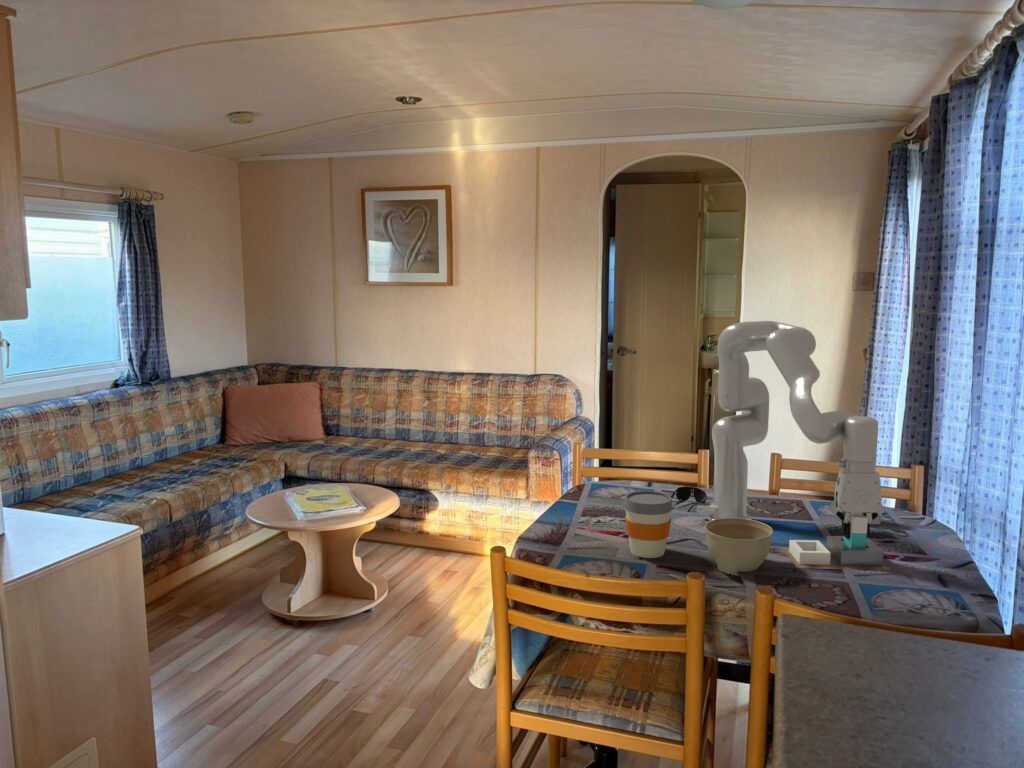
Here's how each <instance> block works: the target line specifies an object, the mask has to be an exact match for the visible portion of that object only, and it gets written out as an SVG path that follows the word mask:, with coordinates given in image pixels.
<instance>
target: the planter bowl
mask: <svg viewBox="0 0 1024 768" xmlns="http://www.w3.org/2000/svg"><path fill="white" fill-rule="evenodd" d="M704 532H705V541H706V546H707V549H708V551H709V553H710V555H711V557H712V558H713V560H714V561H715V563H716V564H717V568H718V570H719V571H720V572H721V573H723V572H724V574H726V573H727V575H729V574H731V575H730V576H734V575H735V576H734V577H736V576H737V577H740V573H739V572H741V573H745V572H753V571H756V570H758V568H760V566H761V565H762V564H763V563H764V561H765V560H766V558H767V556H768V554H769V552H770V550H771V549H770V548H771V545H772V538H773V535H774V533H773V532H774V530H773V528H772V527H771V526H769V525H768V524H766V523H764V522H761V521H757V520H755V519H754V520H753V519H751V520H750V519H743V518H719V519H714V520H711V521H709V520H708V521H707V522H706V523H705V524H704Z"/></svg>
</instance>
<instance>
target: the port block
mask: <svg viewBox="0 0 1024 768" xmlns="http://www.w3.org/2000/svg"><path fill="white" fill-rule="evenodd" d="M825 548H826V549H827V550H828V551H829V552H830V553H831V556H832V557H833V558H834V559H835V560H836V562H837V563H838V564H839V565H840V566H864V567H883V564H884V556H885V555H884V550H883V549H882V548H881V547H880V546H878V544H876V543H875V542H874V541H873V540H872V539H871V538H869V537H868V539H866V548H849V547H848V546H847V545H846V544H845V543H844V536H843V535H827V536H826V547H825Z"/></svg>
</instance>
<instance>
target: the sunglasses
mask: <svg viewBox="0 0 1024 768" xmlns="http://www.w3.org/2000/svg"><path fill="white" fill-rule="evenodd" d="M692 494H693V497H694V499H695V502H696V503H694V504H692V505H691V506H690V507H689V509H687V513H689V511H691V509H692V508H693V507H695V506H698V504H700V505H704V504H706V501H707V497H708V496H707V493H706V491H704V490H703V489H701V488H699V487H694V486H689V485H688V486H687V485H685V486H680V487H677V488H676V489H675V490H674V492H673V493H672V494H671V495H669V496H670V497H671V499H673V498H674V497H675V496H676V499H677V500H679V501H685V500H687V501H688V500H689V499H690V497H691V495H692ZM680 499H681V500H680ZM697 502H698V503H697Z"/></svg>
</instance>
